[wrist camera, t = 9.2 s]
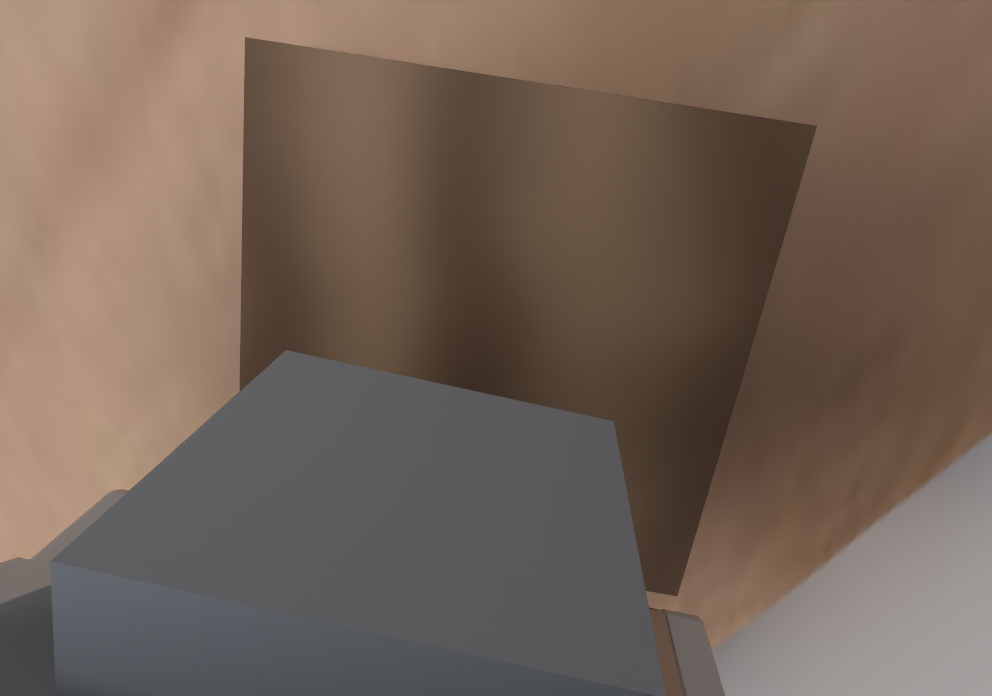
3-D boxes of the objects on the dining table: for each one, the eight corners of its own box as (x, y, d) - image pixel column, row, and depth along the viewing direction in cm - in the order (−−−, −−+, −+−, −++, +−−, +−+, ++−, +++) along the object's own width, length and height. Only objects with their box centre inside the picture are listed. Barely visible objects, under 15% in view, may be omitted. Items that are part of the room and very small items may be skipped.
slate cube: (613, 421, 10) (665, 696, 5) (540, 674, 12) (531, 1052, 7) (286, 350, 10) (49, 561, 5) (260, 611, 12) (66, 945, 7)
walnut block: (758, 122, 21) (816, 126, 16) (655, 506, 26) (677, 596, 21) (314, 53, 21) (245, 37, 16) (295, 443, 26) (237, 517, 21)
